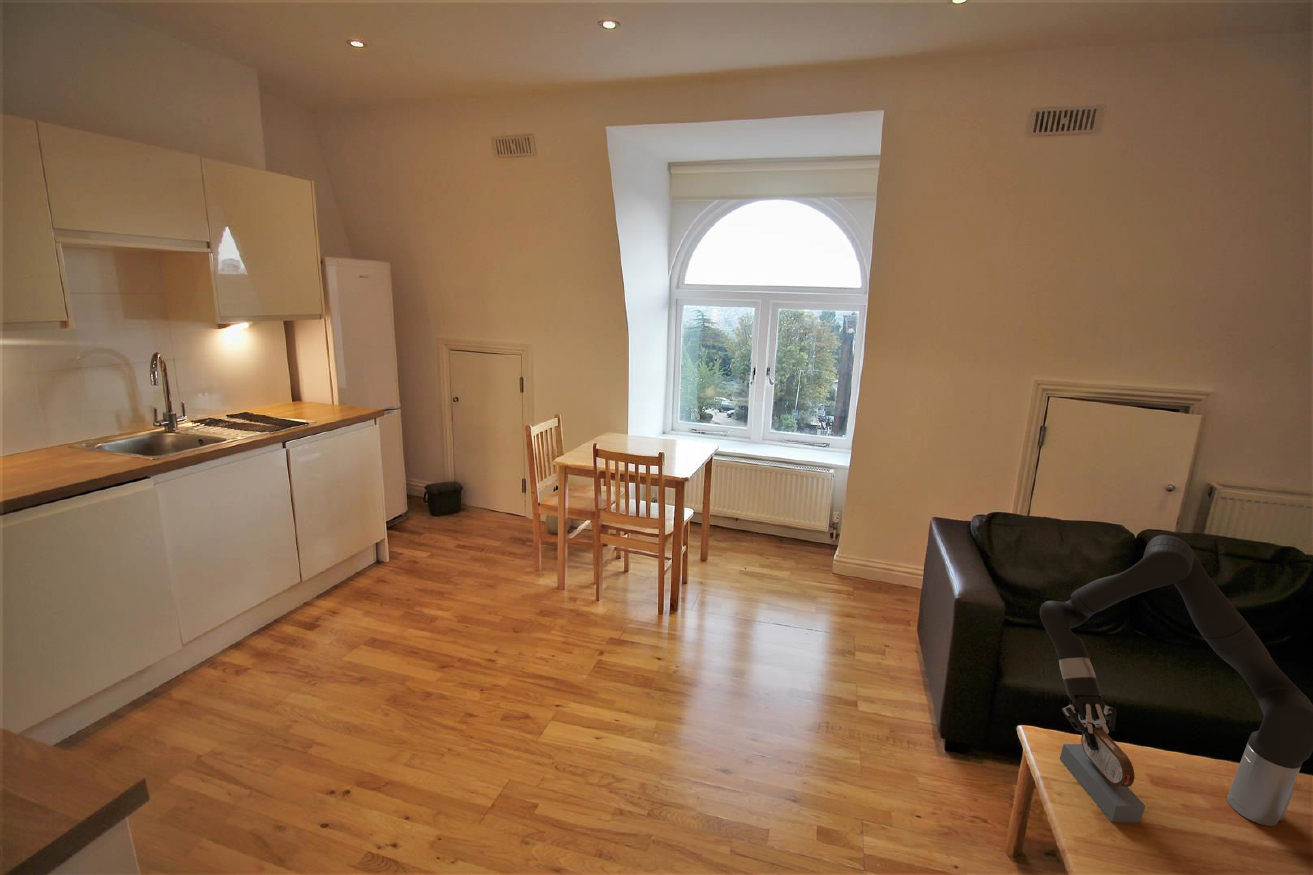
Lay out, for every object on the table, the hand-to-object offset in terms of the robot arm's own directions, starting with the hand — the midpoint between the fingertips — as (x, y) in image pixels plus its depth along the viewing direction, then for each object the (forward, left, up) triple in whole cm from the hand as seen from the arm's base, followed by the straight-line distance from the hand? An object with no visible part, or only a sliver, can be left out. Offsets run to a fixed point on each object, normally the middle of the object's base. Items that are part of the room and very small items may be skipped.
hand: (1101, 749), depth 154 cm
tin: (0, +2, -4) cm, 5 cm away
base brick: (0, +2, -10) cm, 10 cm away
